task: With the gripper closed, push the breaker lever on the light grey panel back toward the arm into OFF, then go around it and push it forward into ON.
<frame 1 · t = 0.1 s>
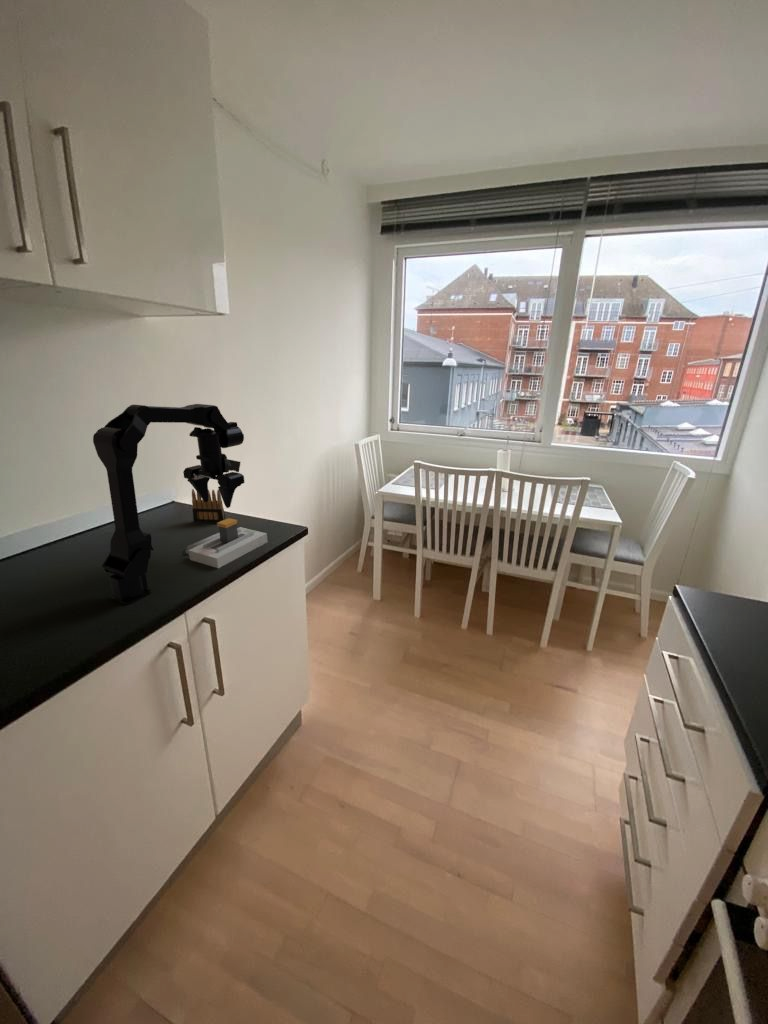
hand: (217, 504, 120), 15 cm above the worktop, fingers open, 9 cm apart
breaker panel: (230, 550, 126), on the worktop
ammunition clip: (209, 522, 147), on the worktop
breaker lever: (228, 530, 124), point 6 cm above the worktop, slide at 4.0 cm
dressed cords: (209, 544, 129), on the worktop
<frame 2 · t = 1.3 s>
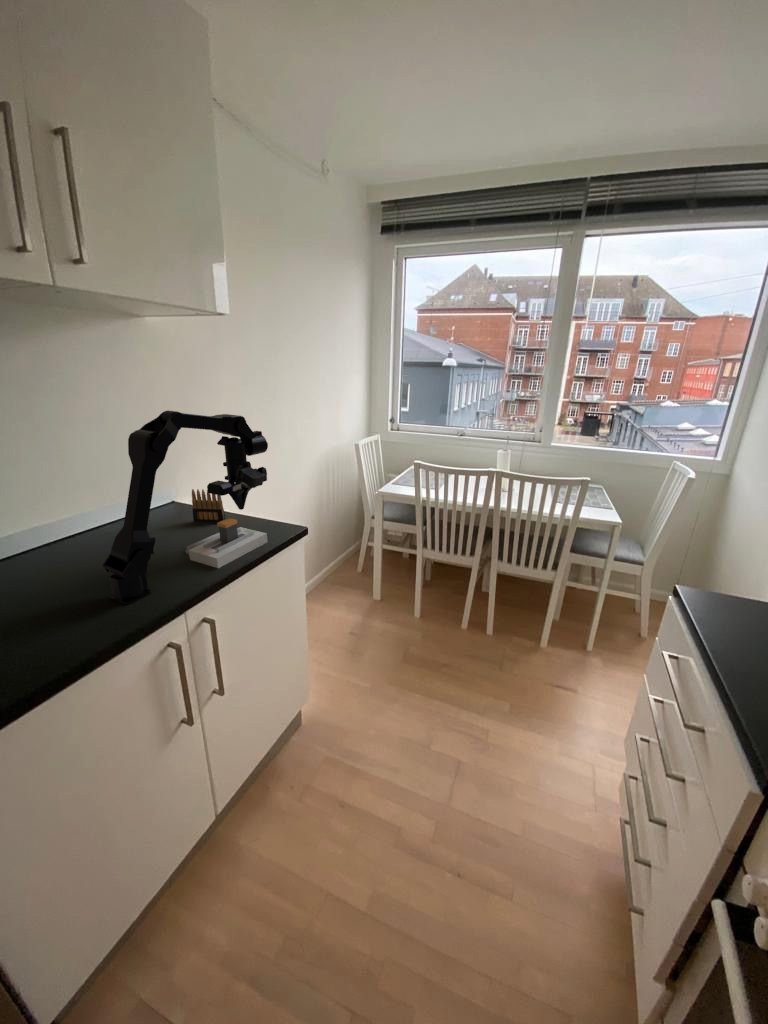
hand: (241, 509, 127), 11 cm above the worktop, fingers closed
nothing on the worktop moved.
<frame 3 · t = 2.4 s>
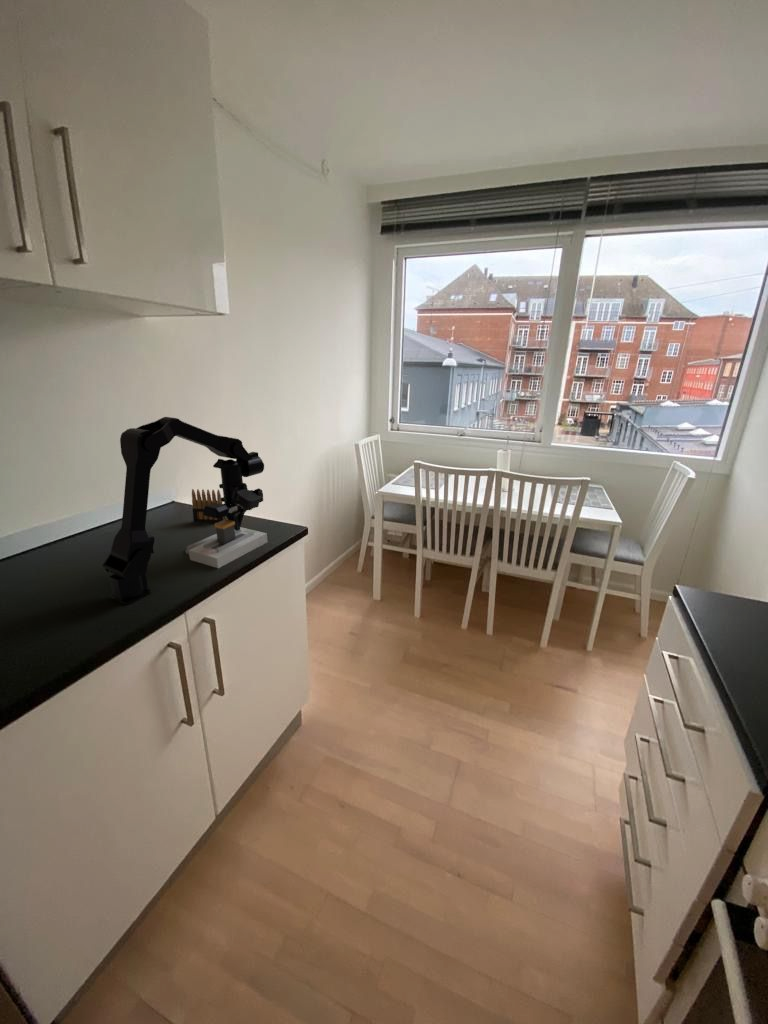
hand: (237, 530, 127), 5 cm above the worktop, fingers closed
breaker lever: (225, 532, 123), point 6 cm above the worktop, slide at 3.0 cm, touching gripper
everything else where it was.
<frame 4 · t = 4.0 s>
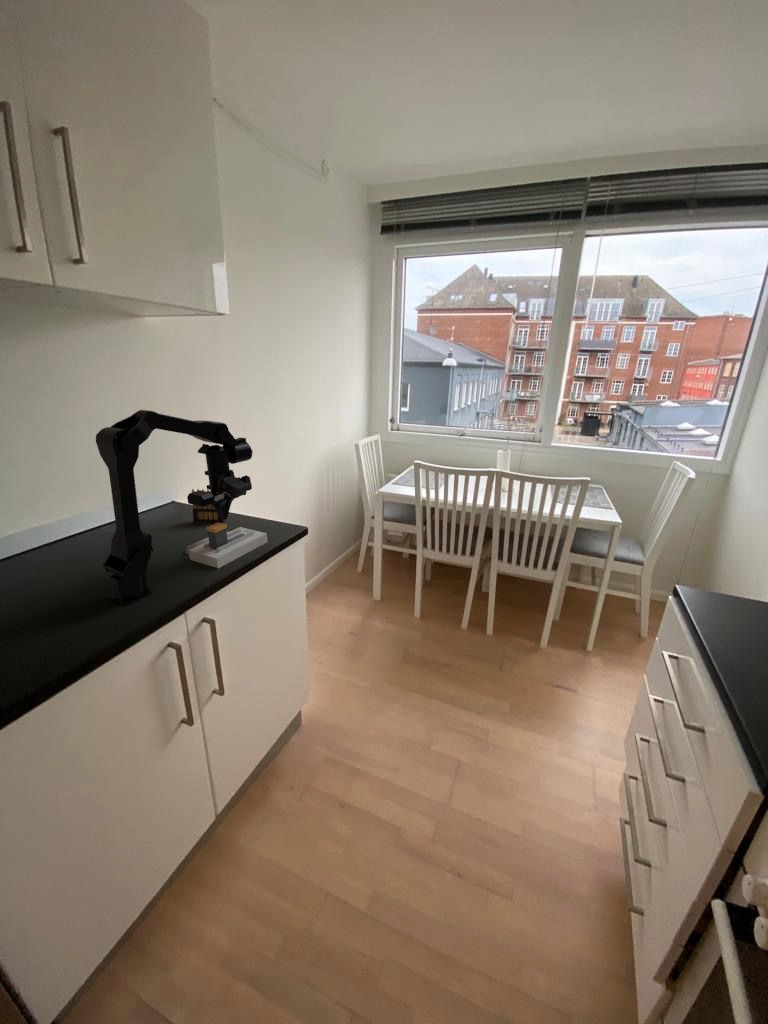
hand: (224, 519, 122), 10 cm above the worktop, fingers closed
breaker lever: (217, 535, 120), point 6 cm above the worktop, slide at 0.0 cm
everything else where it was.
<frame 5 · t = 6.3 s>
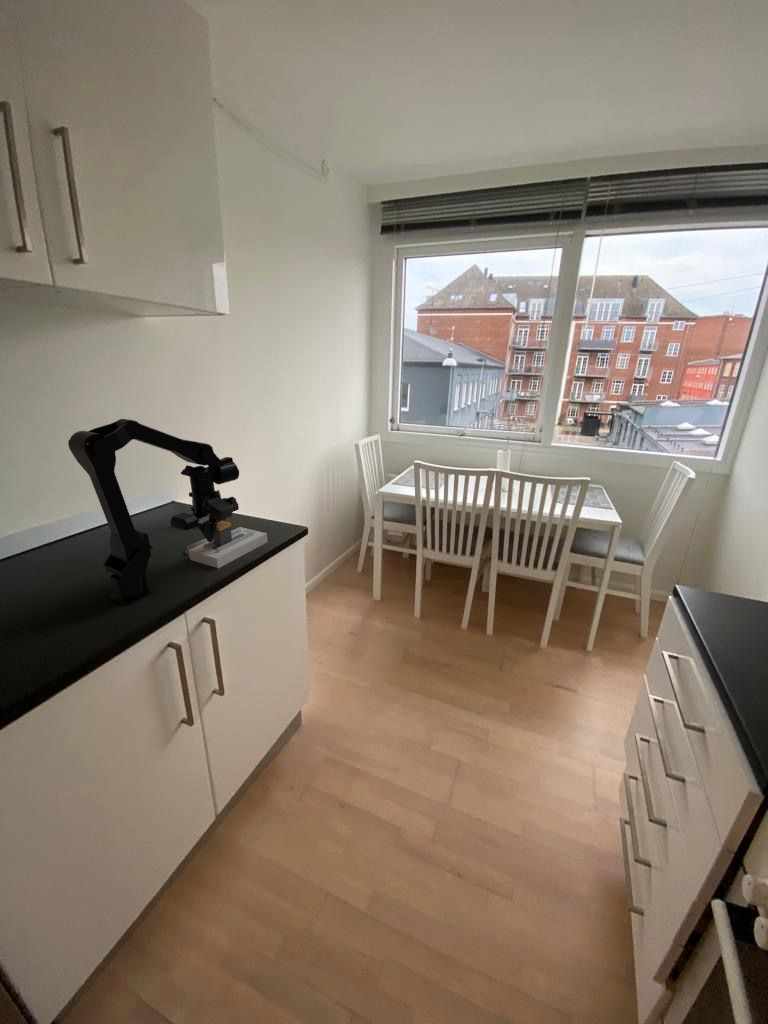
hand: (210, 541, 118), 6 cm above the worktop, fingers closed
breaker lever: (221, 533, 121), point 6 cm above the worktop, slide at 1.6 cm, touching gripper
everything else where it was.
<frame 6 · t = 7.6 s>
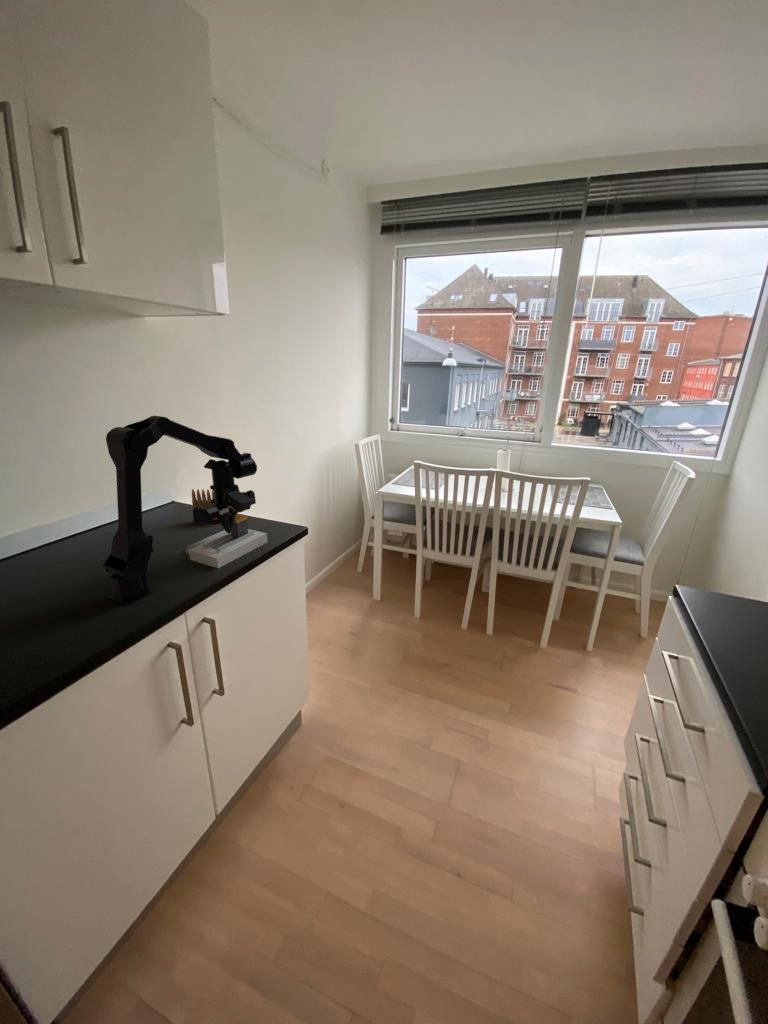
hand: (228, 532, 124), 6 cm above the worktop, fingers closed
breaker lever: (238, 526, 127), point 6 cm above the worktop, slide at 8.2 cm, touching gripper
everything else where it was.
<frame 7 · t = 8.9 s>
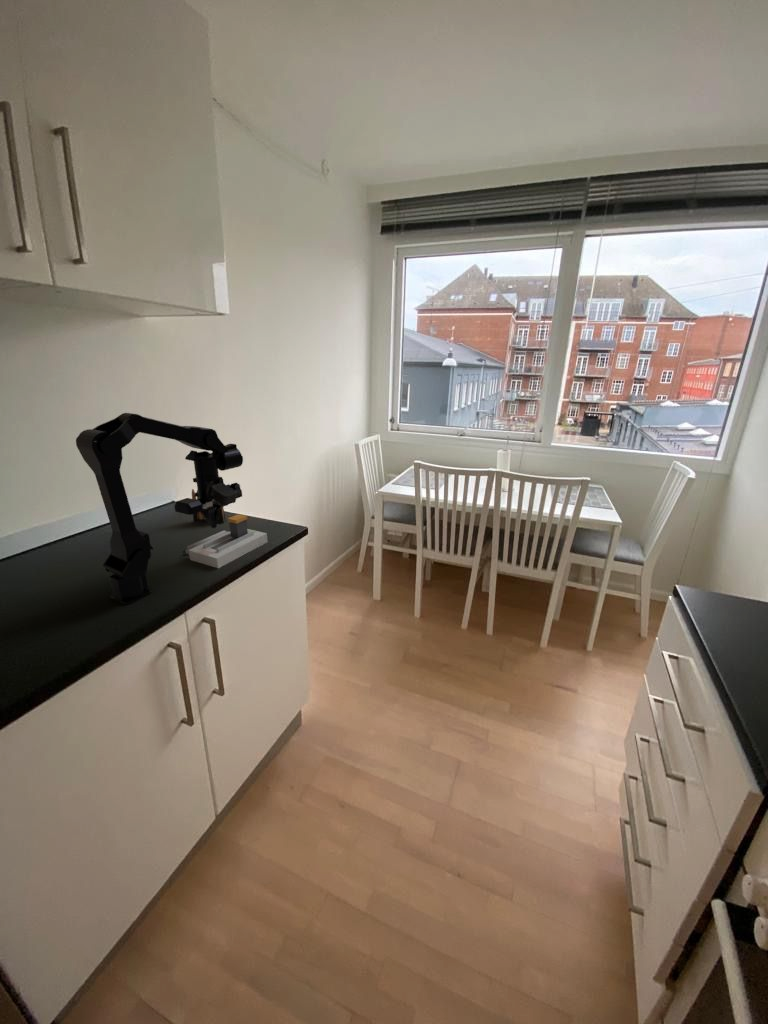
hand: (213, 527, 118), 9 cm above the worktop, fingers closed
breaker lever: (238, 526, 127), point 6 cm above the worktop, slide at 8.0 cm
everything else where it was.
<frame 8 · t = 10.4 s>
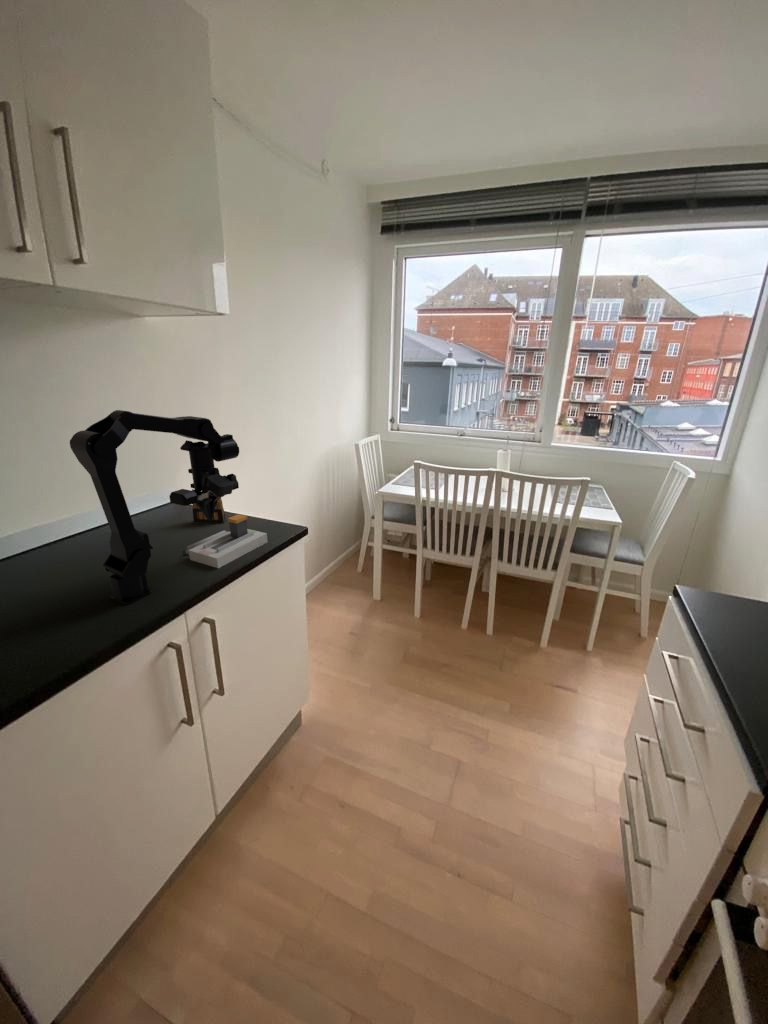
hand: (210, 519, 117), 12 cm above the worktop, fingers closed
nothing on the worktop moved.
at the end: breaker lever slide at 8.0 cm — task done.
